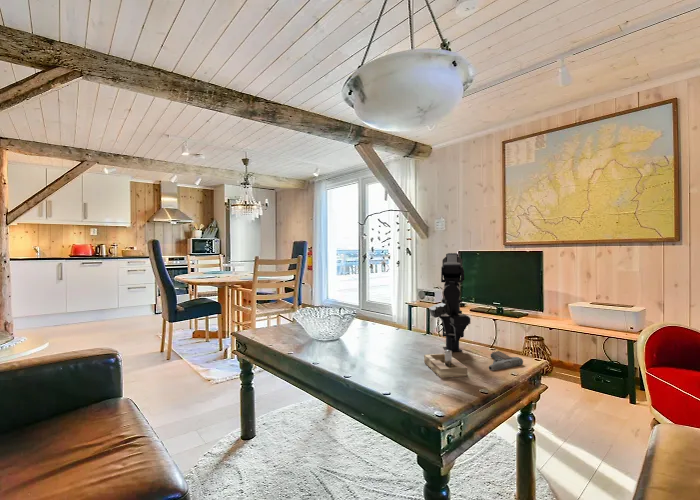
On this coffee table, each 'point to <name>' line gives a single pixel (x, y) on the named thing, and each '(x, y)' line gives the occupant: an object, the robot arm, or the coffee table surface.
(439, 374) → the keyhole board
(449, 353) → the peg
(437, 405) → the coffee table surface
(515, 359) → the handgun
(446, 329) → the robot arm
